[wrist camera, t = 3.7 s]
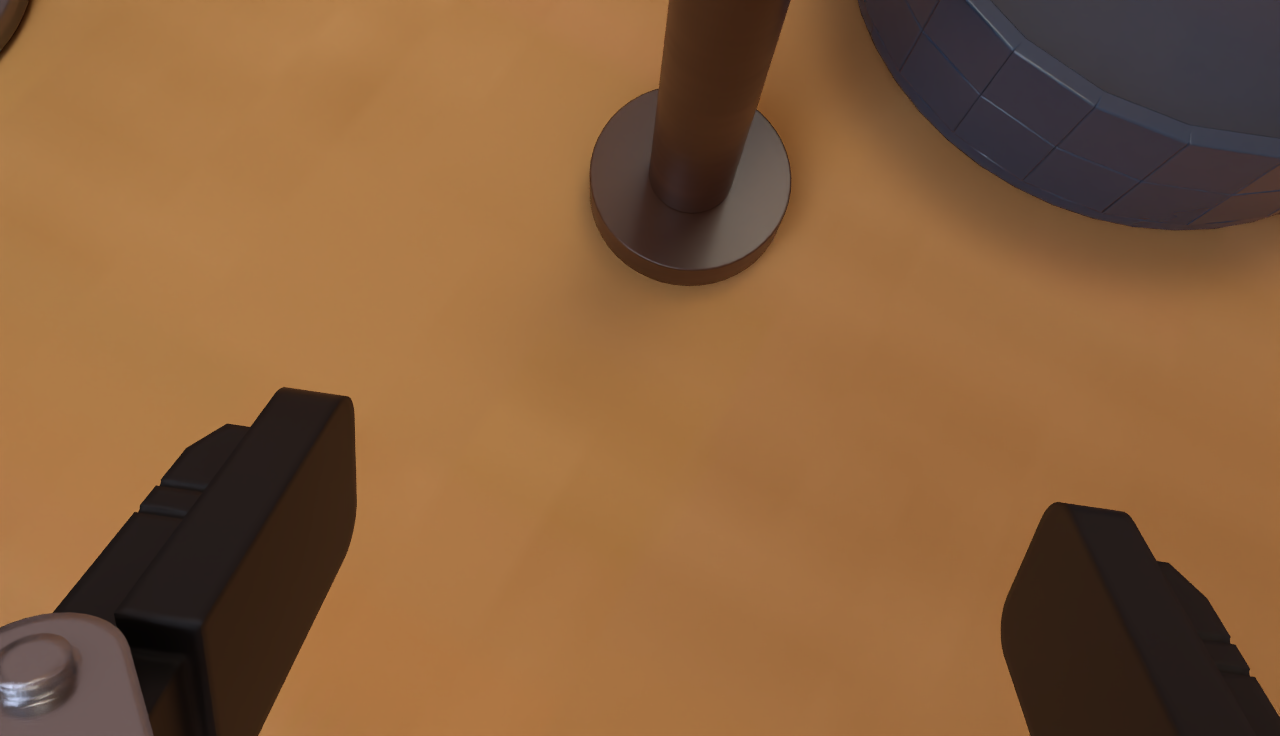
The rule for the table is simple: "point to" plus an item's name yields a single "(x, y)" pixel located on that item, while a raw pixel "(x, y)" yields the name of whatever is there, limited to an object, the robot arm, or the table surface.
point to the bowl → (1102, 100)
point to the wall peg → (697, 150)
